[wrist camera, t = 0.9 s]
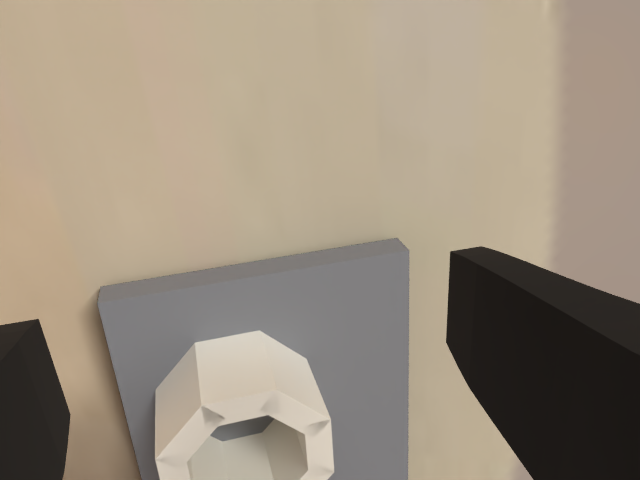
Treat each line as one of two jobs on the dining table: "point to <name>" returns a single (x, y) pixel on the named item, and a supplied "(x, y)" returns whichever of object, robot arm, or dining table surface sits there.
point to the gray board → (290, 330)
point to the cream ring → (242, 414)
